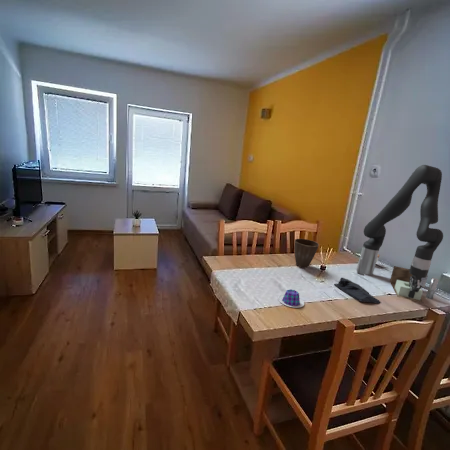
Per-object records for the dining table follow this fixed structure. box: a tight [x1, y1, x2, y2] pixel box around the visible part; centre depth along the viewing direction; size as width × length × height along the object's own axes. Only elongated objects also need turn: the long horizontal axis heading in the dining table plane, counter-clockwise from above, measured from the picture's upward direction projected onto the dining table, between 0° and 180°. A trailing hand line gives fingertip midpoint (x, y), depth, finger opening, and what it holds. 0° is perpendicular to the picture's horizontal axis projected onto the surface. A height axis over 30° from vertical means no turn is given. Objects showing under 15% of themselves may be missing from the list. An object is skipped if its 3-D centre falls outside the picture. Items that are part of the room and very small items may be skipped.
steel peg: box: [425, 277, 440, 300], centre depth 144 cm, size 3×3×12 cm
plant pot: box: [293, 238, 320, 269], centre depth 172 cm, size 15×15×16 cm
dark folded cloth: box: [334, 277, 382, 304], centre depth 142 cm, size 15×22×5 cm
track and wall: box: [389, 265, 425, 304], centre depth 148 cm, size 12×22×11 cm, turn 158°
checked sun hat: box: [277, 289, 305, 309], centre depth 125 cm, size 12×12×5 cm
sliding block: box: [395, 280, 423, 300], centre depth 146 cm, size 10×10×5 cm
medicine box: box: [420, 274, 429, 288], centre depth 162 cm, size 8×4×9 cm, turn 168°
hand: (410, 297), depth 139 cm, fingers closed
